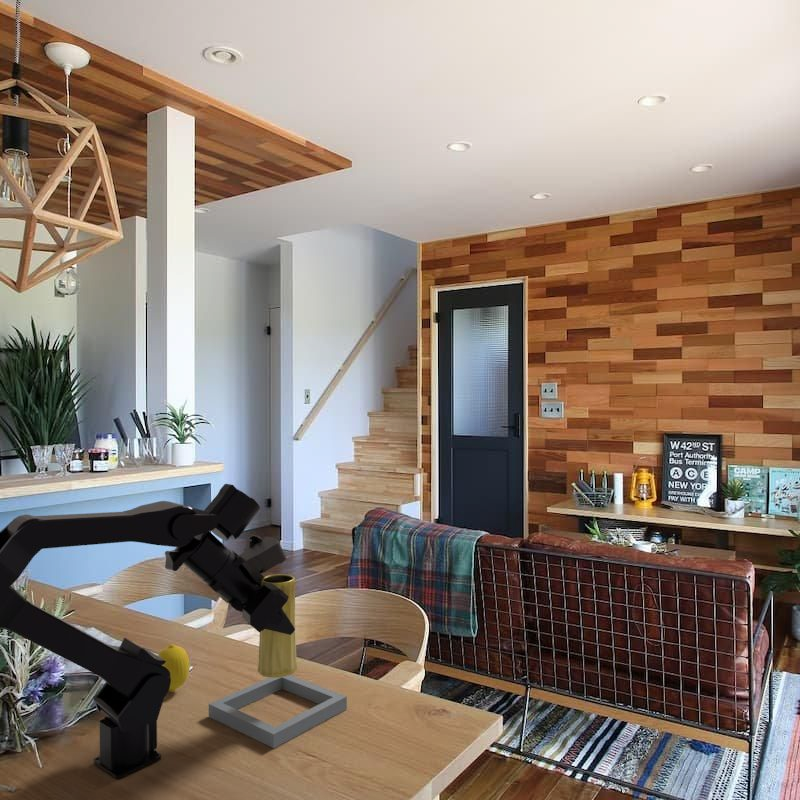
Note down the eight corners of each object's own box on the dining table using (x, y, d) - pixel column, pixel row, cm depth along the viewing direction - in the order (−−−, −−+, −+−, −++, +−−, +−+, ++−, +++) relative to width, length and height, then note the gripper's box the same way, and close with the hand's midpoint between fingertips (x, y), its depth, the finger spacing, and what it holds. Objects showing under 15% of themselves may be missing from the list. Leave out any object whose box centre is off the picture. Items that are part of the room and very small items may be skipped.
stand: (273, 748, 96) (273, 734, 96) (208, 716, 105) (208, 703, 105) (346, 709, 107) (346, 696, 107) (282, 683, 117) (282, 671, 117)
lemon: (179, 700, 110) (178, 651, 110) (148, 697, 111) (147, 649, 111) (195, 686, 116) (195, 639, 116) (166, 683, 117) (165, 637, 117)
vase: (301, 663, 109) (301, 573, 109) (291, 679, 103) (291, 584, 102) (264, 661, 109) (264, 572, 109) (252, 677, 103) (252, 583, 103)
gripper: (274, 533, 96) (345, 600, 101) (234, 513, 112) (297, 571, 118) (218, 597, 92) (295, 663, 98) (185, 567, 108) (253, 624, 114)
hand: (286, 626), depth 107 cm, fingers closed on vase, 5 cm apart
